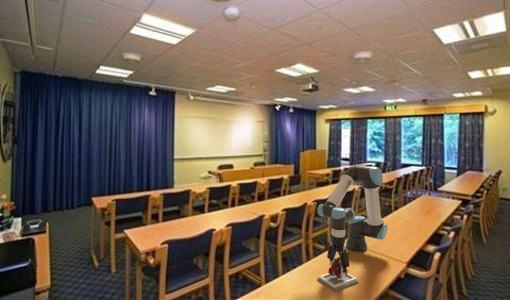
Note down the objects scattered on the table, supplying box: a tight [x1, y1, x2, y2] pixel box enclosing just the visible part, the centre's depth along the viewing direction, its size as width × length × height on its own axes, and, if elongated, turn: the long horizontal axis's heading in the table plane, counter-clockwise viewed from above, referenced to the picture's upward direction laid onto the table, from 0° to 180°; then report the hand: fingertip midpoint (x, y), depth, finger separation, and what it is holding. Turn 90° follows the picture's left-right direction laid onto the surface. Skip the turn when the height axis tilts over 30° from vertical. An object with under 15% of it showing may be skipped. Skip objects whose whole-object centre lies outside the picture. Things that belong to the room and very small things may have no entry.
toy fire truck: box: [327, 256, 349, 279], centre depth 156 cm, size 7×12×10 cm, turn 128°
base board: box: [317, 273, 359, 292], centre depth 156 cm, size 18×14×2 cm
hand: (337, 274), depth 156 cm, fingers closed on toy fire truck, 7 cm apart
